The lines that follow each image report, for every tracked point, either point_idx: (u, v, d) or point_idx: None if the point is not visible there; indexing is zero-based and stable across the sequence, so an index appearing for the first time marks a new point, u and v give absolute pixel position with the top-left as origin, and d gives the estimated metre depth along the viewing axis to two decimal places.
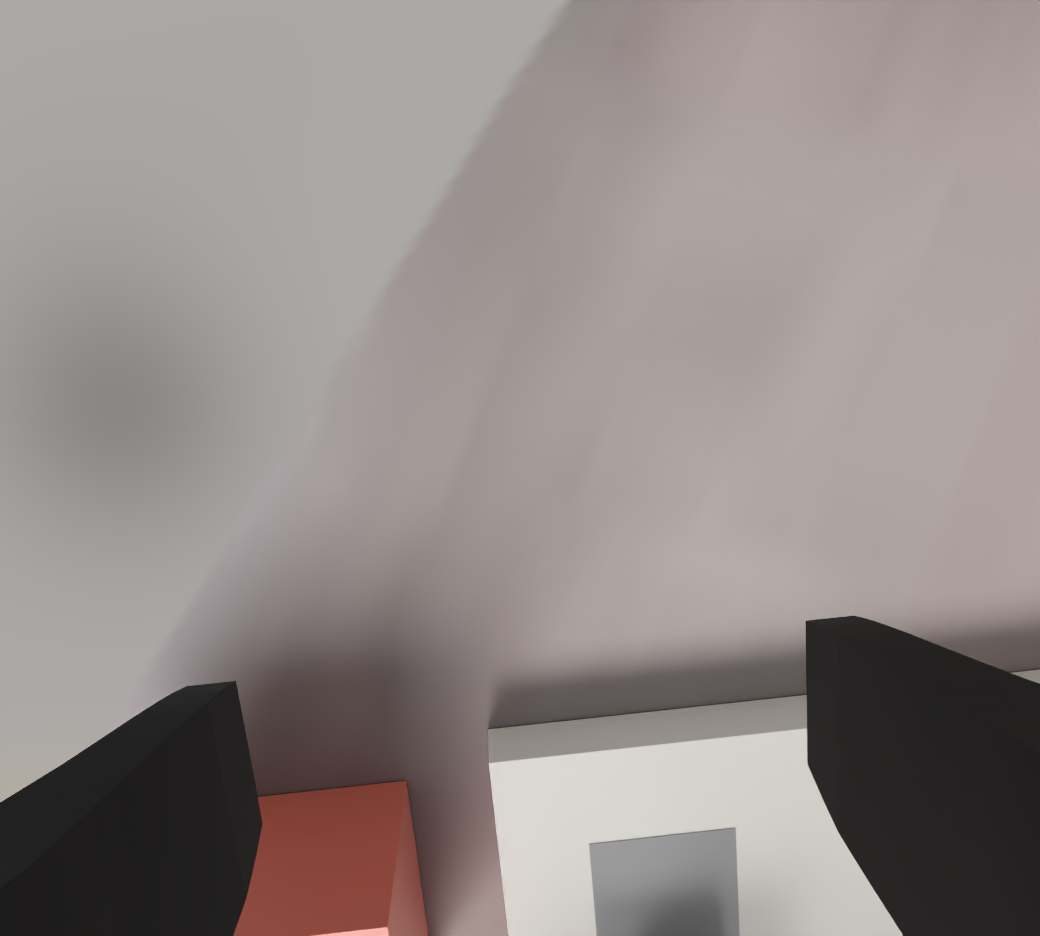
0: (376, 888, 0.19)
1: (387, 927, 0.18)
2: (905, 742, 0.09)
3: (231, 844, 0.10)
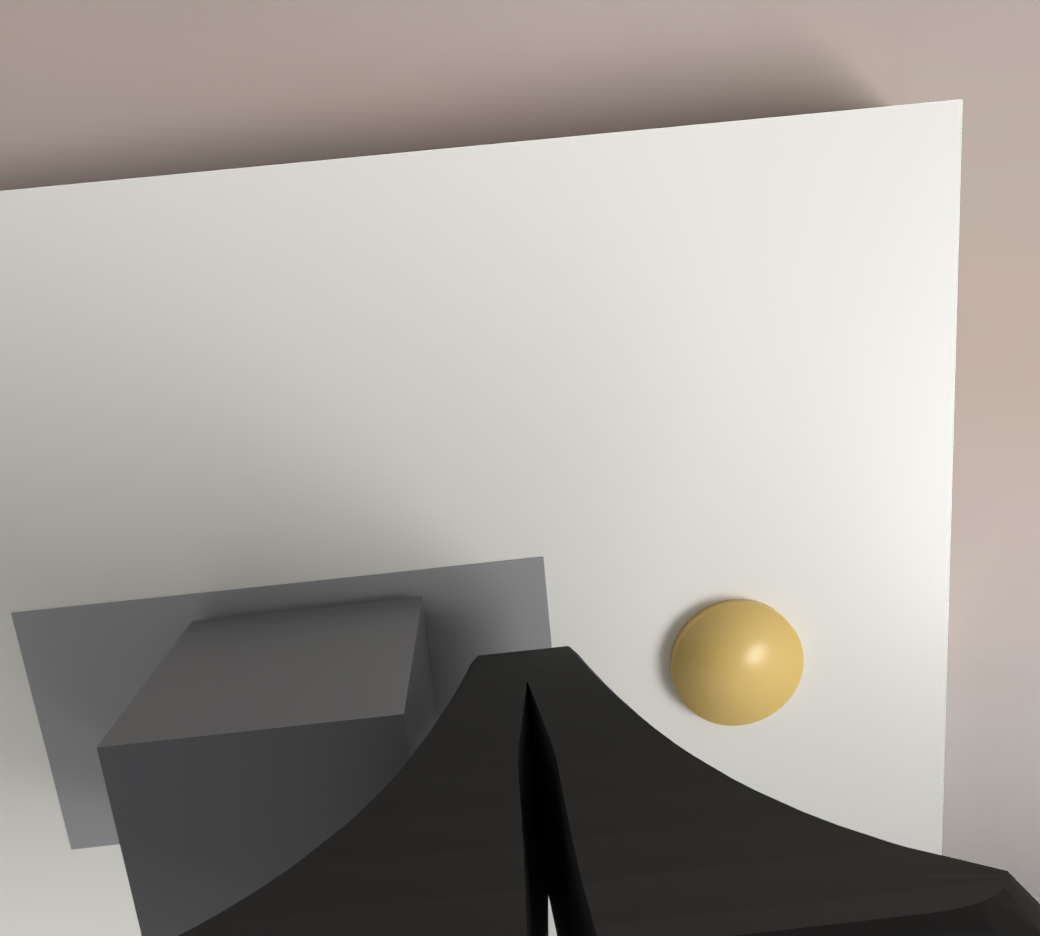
0: None
1: None
2: (546, 781, 0.09)
3: None
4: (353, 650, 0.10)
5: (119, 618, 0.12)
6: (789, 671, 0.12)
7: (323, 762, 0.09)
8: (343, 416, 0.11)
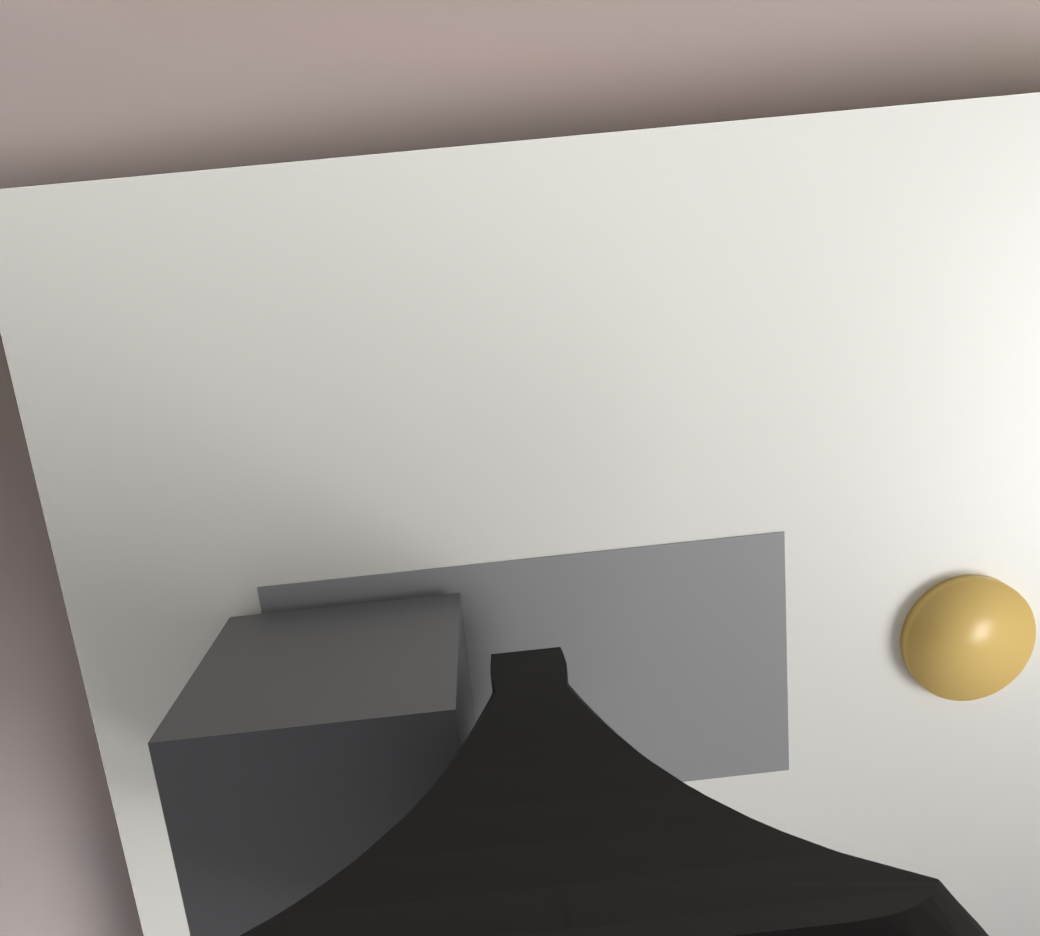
0: None
1: None
2: None
3: None
4: (397, 645, 0.10)
5: (363, 592, 0.12)
6: (1021, 646, 0.12)
7: (374, 757, 0.09)
8: (598, 390, 0.11)
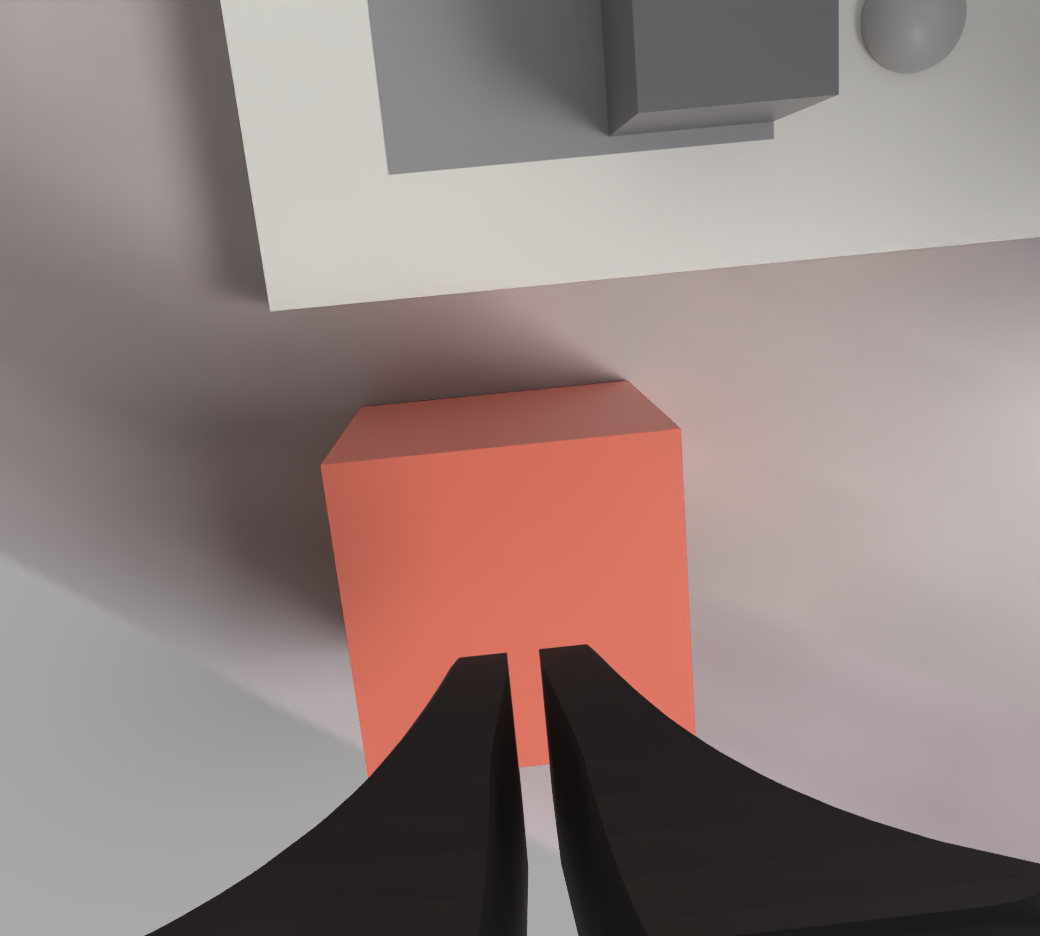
0: None
1: (324, 464, 0.14)
2: (570, 779, 0.09)
3: (521, 812, 0.10)
4: None
5: None
6: None
7: None
8: None
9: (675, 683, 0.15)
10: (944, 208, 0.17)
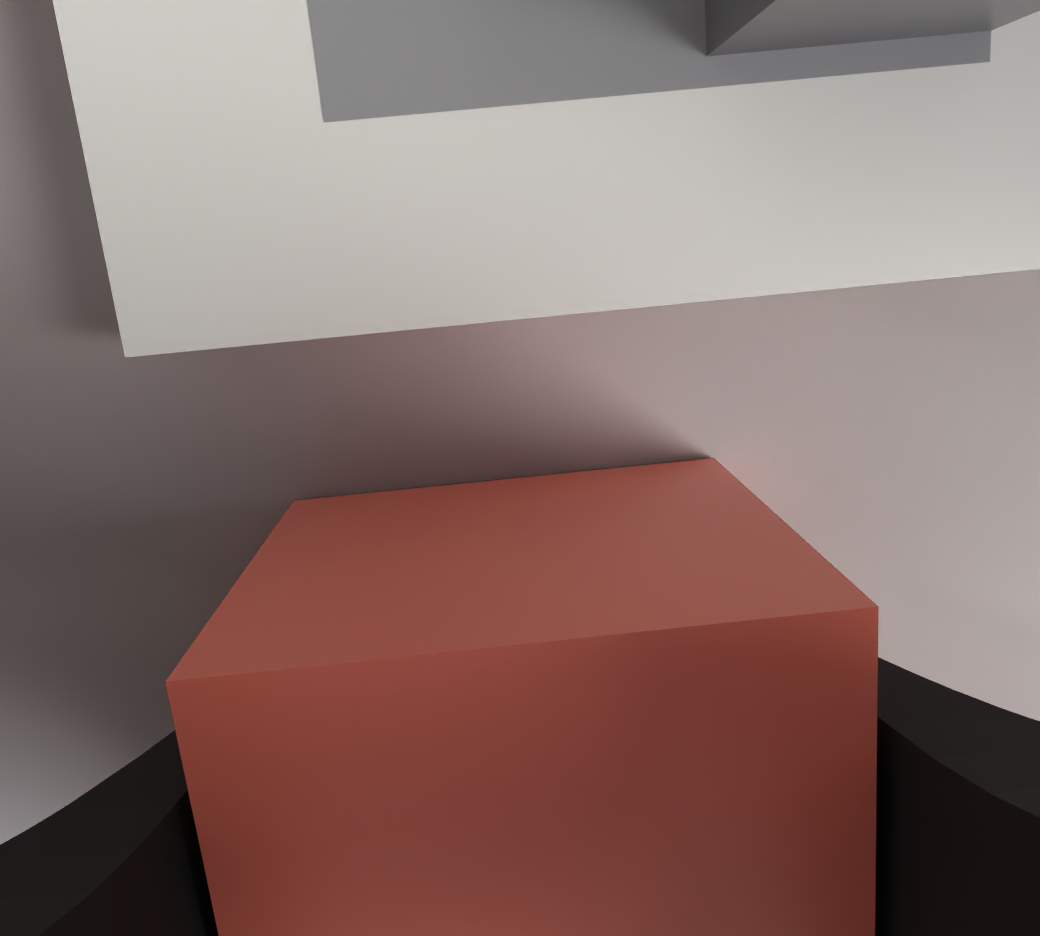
0: None
1: (175, 679, 0.07)
2: None
3: None
4: None
5: None
6: None
7: None
8: None
9: None
10: None
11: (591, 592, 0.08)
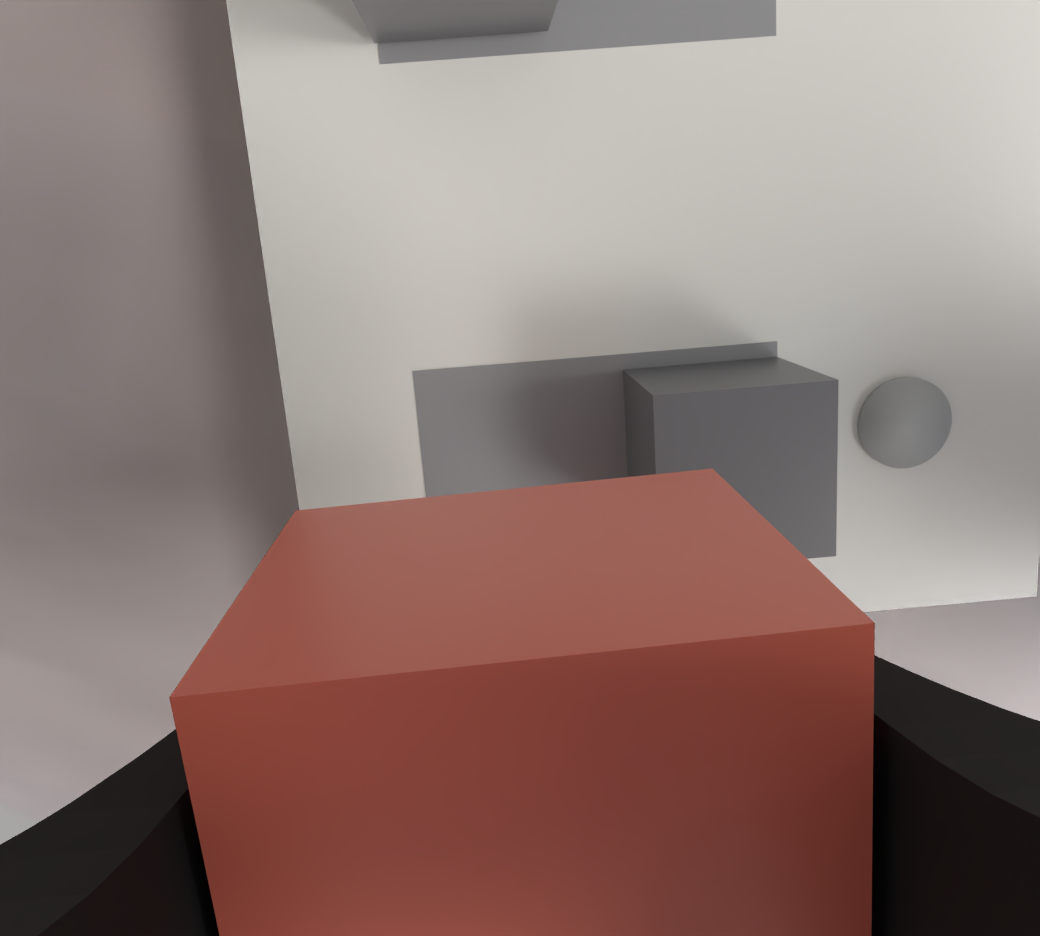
0: None
1: (179, 694, 0.07)
2: None
3: None
4: None
5: None
6: None
7: None
8: None
9: None
10: (929, 575, 0.18)
11: (591, 607, 0.08)
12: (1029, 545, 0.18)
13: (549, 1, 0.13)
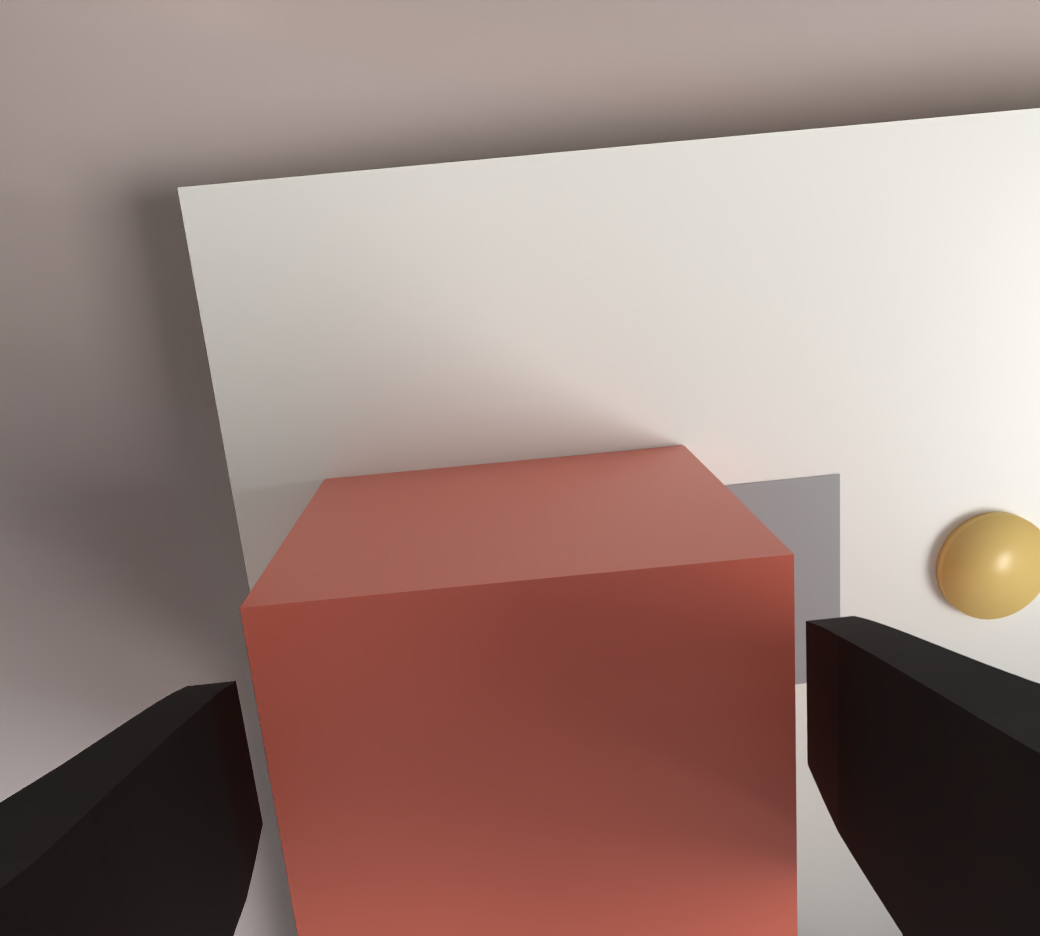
0: None
1: (247, 606, 0.09)
2: (905, 742, 0.09)
3: (231, 844, 0.10)
4: None
5: None
6: (1038, 572, 0.14)
7: None
8: (687, 353, 0.13)
9: (771, 917, 0.10)
10: None
11: (572, 545, 0.10)
12: None
13: None
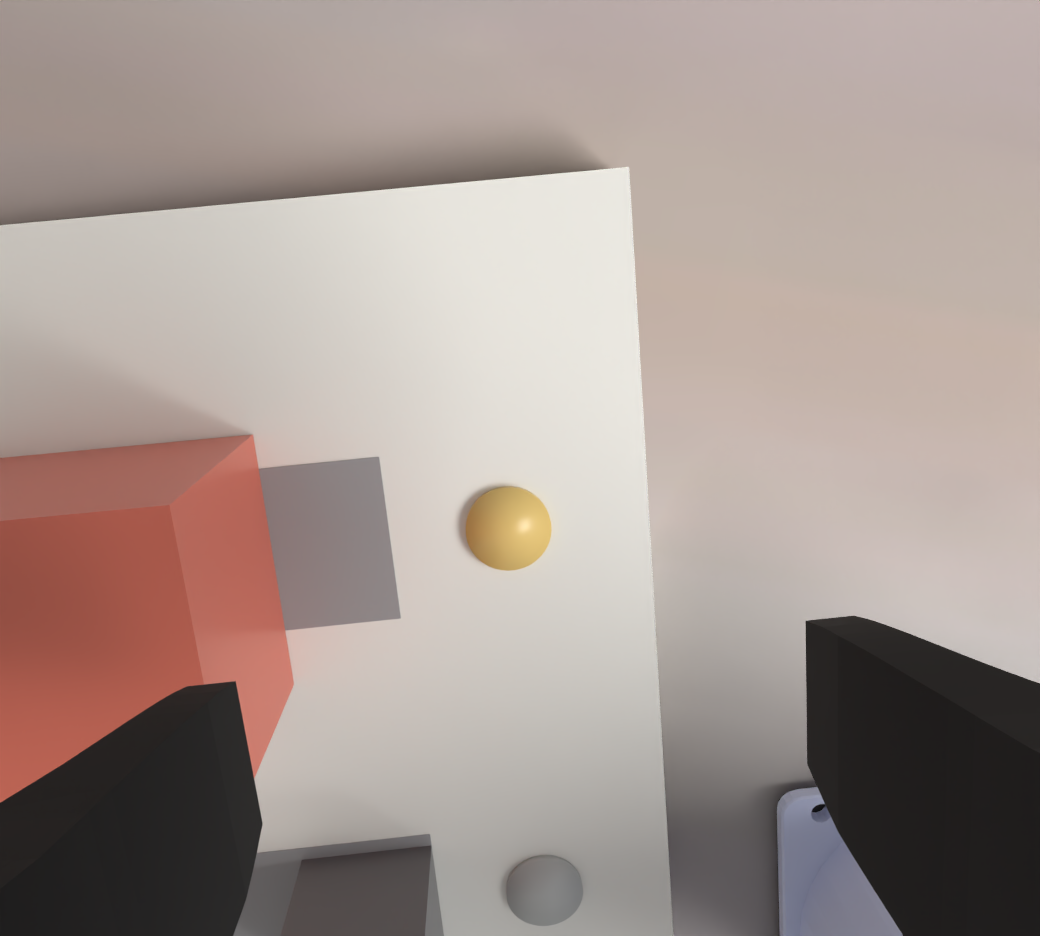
0: None
1: None
2: (905, 742, 0.09)
3: (231, 844, 0.10)
4: None
5: None
6: (542, 533, 0.19)
7: None
8: (247, 364, 0.18)
9: None
10: None
11: (50, 502, 0.14)
12: None
13: None
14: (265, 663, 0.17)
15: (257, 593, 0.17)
